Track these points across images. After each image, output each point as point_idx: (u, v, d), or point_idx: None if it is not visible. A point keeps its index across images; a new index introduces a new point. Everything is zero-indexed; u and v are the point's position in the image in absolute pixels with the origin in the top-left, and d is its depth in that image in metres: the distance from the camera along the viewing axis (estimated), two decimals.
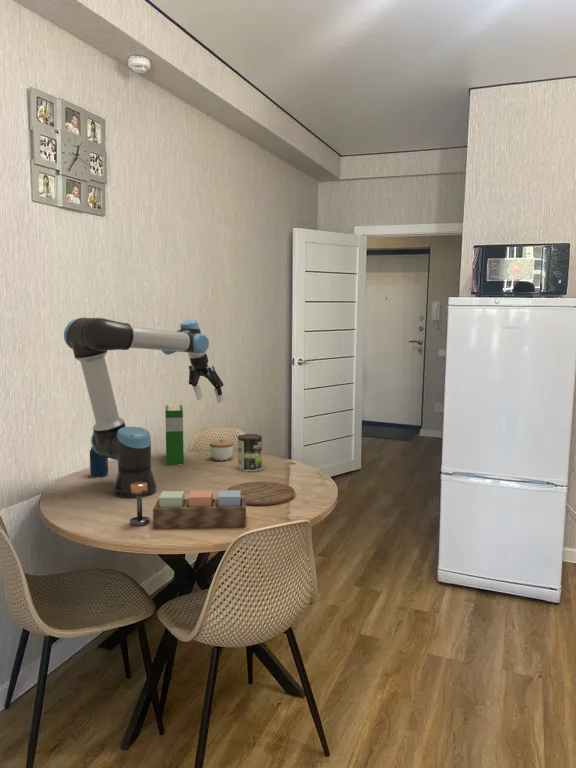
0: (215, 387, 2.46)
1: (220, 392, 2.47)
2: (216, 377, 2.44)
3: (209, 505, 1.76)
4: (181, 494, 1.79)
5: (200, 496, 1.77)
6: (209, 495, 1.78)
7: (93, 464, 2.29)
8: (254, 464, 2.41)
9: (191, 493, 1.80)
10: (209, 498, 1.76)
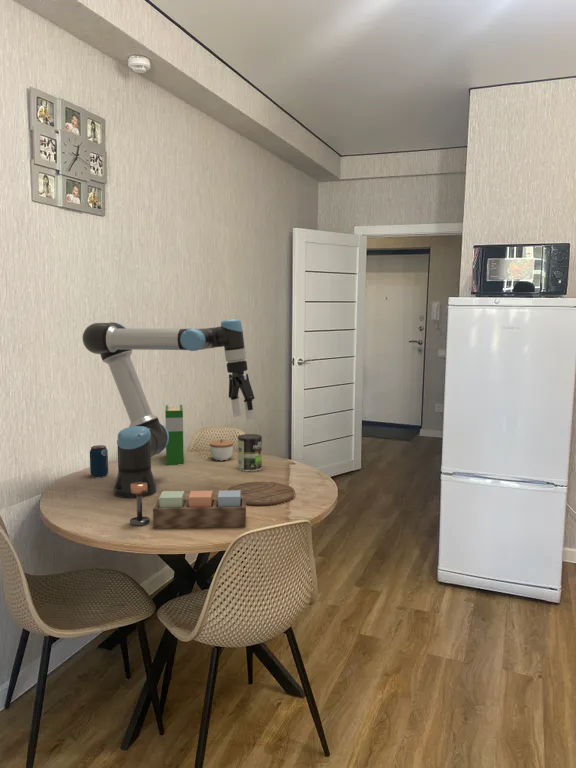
0: None
1: (250, 406, 2.07)
2: (247, 387, 2.06)
3: (209, 505, 1.76)
4: (181, 494, 1.79)
5: (200, 496, 1.77)
6: (209, 495, 1.78)
7: (93, 464, 2.29)
8: (254, 464, 2.41)
9: (191, 493, 1.80)
10: (209, 498, 1.76)
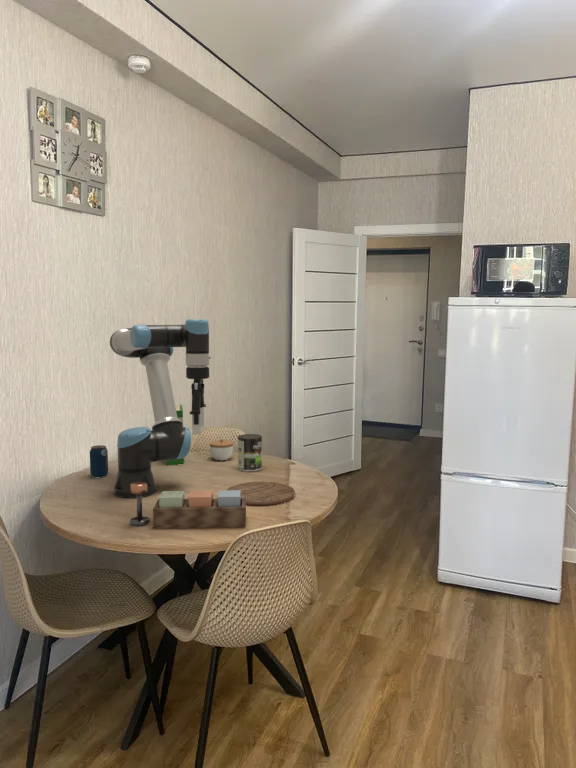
0: None
1: (195, 421, 1.82)
2: (195, 399, 1.81)
3: (209, 505, 1.76)
4: (181, 494, 1.79)
5: (200, 496, 1.77)
6: (209, 495, 1.78)
7: (93, 464, 2.29)
8: (254, 464, 2.41)
9: (191, 493, 1.80)
10: (209, 498, 1.76)
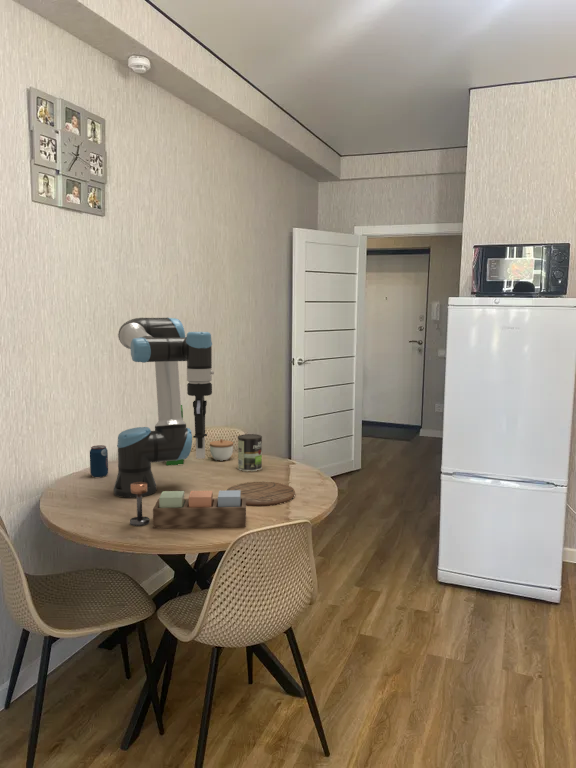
0: None
1: (199, 444, 1.76)
2: (198, 424, 1.72)
3: (209, 505, 1.76)
4: (181, 494, 1.79)
5: (200, 496, 1.77)
6: (209, 495, 1.78)
7: (93, 464, 2.29)
8: (254, 464, 2.41)
9: (191, 493, 1.80)
10: (209, 498, 1.76)
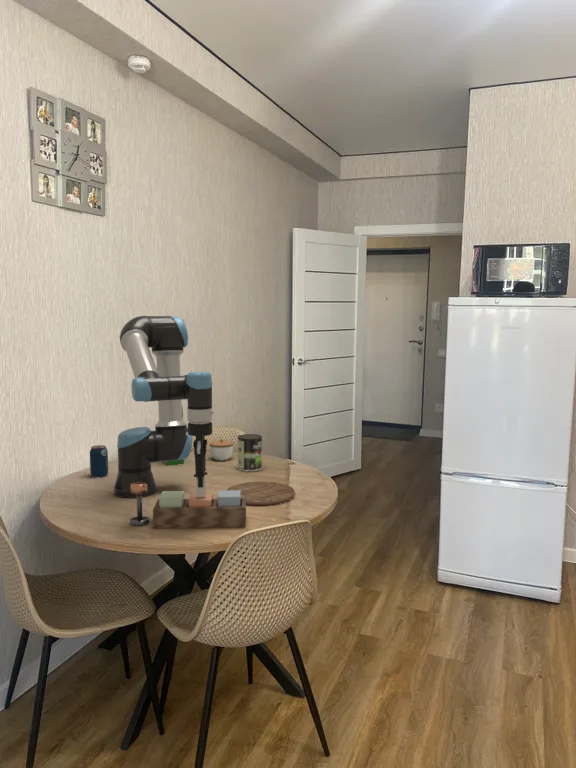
0: None
1: (200, 483, 1.77)
2: (198, 464, 1.73)
3: None
4: (181, 494, 1.79)
5: (200, 499, 1.77)
6: (209, 498, 1.78)
7: (93, 464, 2.29)
8: (254, 464, 2.41)
9: (191, 496, 1.80)
10: (209, 501, 1.76)
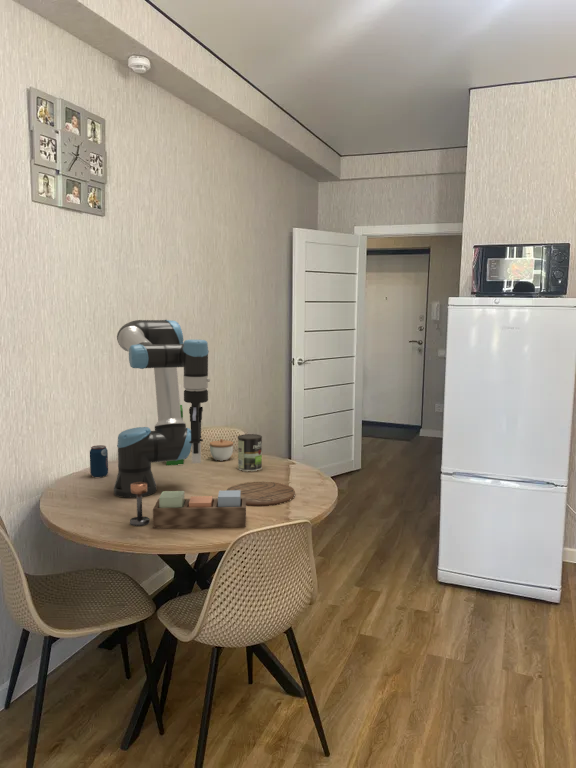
0: None
1: (195, 450, 1.80)
2: (194, 430, 1.77)
3: None
4: (181, 494, 1.79)
5: (200, 501, 1.77)
6: (209, 500, 1.78)
7: (93, 464, 2.29)
8: (254, 464, 2.41)
9: (191, 499, 1.80)
10: (209, 504, 1.76)
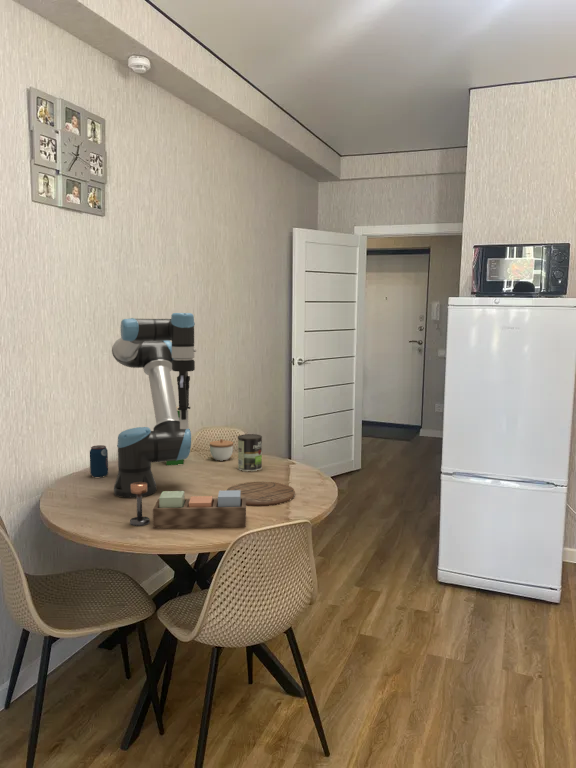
0: None
1: (183, 416, 1.92)
2: (181, 397, 1.89)
3: None
4: (181, 494, 1.79)
5: (200, 501, 1.77)
6: (209, 500, 1.78)
7: (93, 464, 2.29)
8: (254, 464, 2.41)
9: (191, 499, 1.80)
10: (209, 504, 1.76)
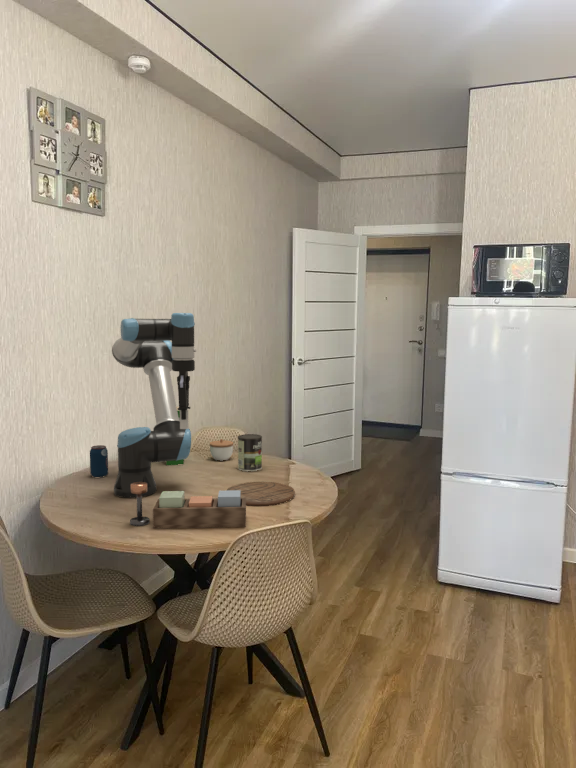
0: None
1: (183, 416, 1.92)
2: (181, 397, 1.89)
3: None
4: (181, 494, 1.79)
5: (200, 501, 1.77)
6: (209, 500, 1.78)
7: (93, 464, 2.29)
8: (254, 464, 2.41)
9: (191, 499, 1.80)
10: (209, 504, 1.76)
